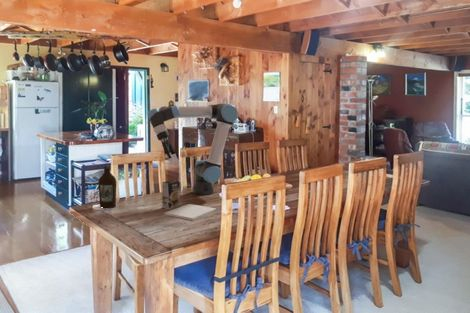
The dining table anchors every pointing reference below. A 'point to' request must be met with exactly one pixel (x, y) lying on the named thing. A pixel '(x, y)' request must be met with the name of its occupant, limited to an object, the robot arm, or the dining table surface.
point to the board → (190, 211)
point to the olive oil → (107, 189)
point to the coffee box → (170, 194)
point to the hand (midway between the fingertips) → (175, 163)
